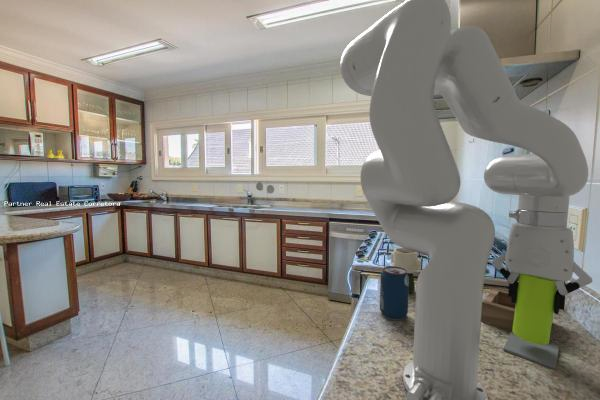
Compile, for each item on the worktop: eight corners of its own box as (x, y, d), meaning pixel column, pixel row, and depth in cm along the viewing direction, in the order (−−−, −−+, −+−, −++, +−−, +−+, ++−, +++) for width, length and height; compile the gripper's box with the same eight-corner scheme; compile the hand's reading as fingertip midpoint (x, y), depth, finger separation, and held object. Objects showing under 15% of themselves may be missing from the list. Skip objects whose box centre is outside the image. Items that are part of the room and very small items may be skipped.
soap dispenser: (562, 348, 54) (577, 247, 52) (522, 342, 55) (535, 243, 53) (542, 331, 59) (555, 240, 57) (506, 326, 61) (517, 237, 59)
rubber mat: (555, 369, 52) (555, 367, 51) (503, 350, 57) (503, 348, 57) (558, 349, 58) (558, 346, 58) (511, 333, 64) (511, 331, 63)
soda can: (413, 316, 71) (415, 271, 70) (396, 324, 67) (398, 276, 66) (390, 306, 77) (392, 263, 76) (373, 313, 73) (375, 268, 72)
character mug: (426, 294, 84) (428, 253, 83) (411, 299, 81) (413, 256, 80) (397, 282, 94) (399, 245, 93) (382, 287, 90) (384, 247, 89)
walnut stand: (548, 343, 60) (549, 320, 60) (480, 321, 69) (482, 302, 68) (552, 322, 69) (554, 302, 68) (492, 305, 78) (493, 288, 77)
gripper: (485, 216, 59) (481, 298, 60) (606, 227, 47) (596, 329, 48) (493, 213, 64) (489, 288, 66) (604, 222, 52) (595, 314, 53)
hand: (534, 305), depth 57 cm, fingers closed on soap dispenser, 6 cm apart
